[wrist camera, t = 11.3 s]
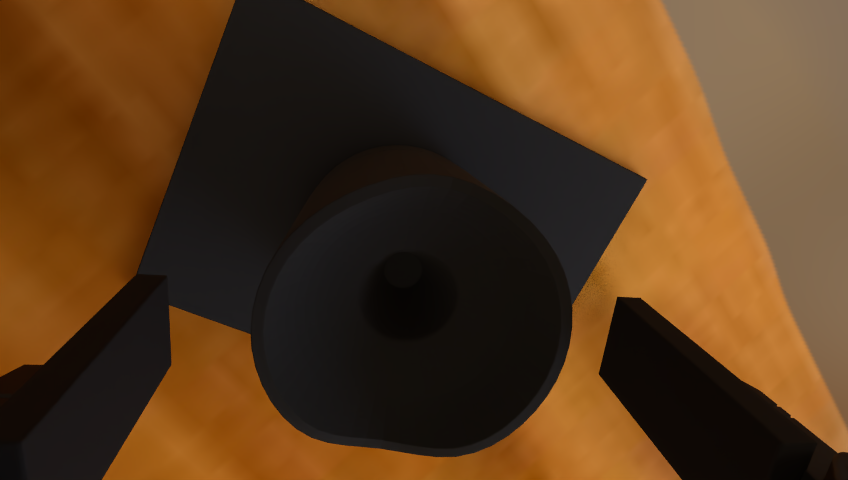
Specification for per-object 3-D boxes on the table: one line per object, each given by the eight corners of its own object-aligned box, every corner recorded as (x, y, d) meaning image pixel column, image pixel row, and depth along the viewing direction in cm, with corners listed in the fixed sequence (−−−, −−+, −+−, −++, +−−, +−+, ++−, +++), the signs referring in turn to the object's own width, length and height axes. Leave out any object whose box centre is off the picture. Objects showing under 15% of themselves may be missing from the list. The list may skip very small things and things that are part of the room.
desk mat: (134, 286, 25) (129, 291, 24) (249, -28, 21) (245, -30, 21) (498, 417, 29) (501, 424, 29) (641, 177, 26) (647, 179, 25)
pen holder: (421, 91, 23) (461, 107, 13) (529, 253, 26) (625, 360, 16) (251, 215, 24) (177, 312, 14) (375, 358, 27) (382, 517, 17)
